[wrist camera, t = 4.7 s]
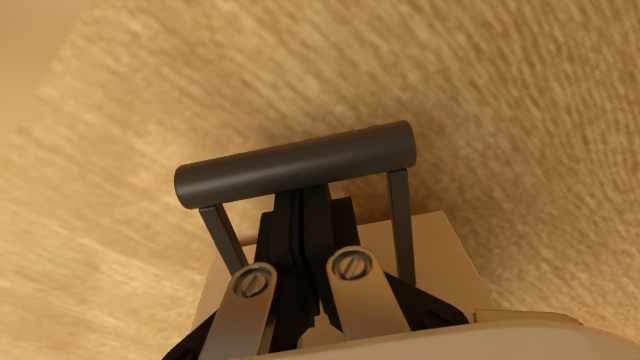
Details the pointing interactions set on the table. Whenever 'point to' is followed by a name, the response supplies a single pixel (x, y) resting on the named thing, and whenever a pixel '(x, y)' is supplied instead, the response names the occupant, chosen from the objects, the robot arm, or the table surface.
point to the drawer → (380, 237)
